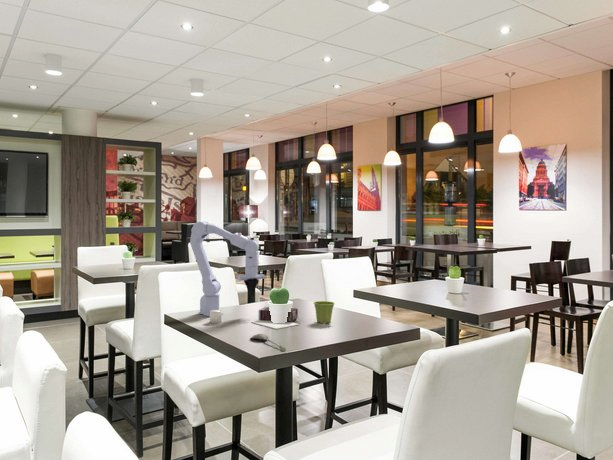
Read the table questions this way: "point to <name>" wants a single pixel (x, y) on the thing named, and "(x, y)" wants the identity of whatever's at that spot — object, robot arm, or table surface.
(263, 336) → the soupspoon
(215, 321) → the white small cube
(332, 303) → the plant pot
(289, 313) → the supplement box
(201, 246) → the robot arm
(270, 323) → the mat
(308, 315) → the table surface
